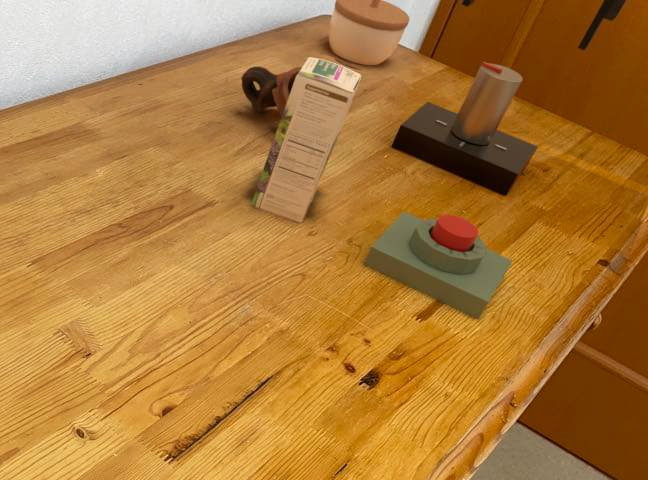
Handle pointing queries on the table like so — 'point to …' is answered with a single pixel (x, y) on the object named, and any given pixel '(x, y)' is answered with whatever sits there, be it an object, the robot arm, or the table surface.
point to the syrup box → (305, 138)
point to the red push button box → (438, 265)
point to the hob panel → (463, 149)
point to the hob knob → (486, 103)
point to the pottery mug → (268, 88)
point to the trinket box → (366, 30)
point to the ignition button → (454, 233)
